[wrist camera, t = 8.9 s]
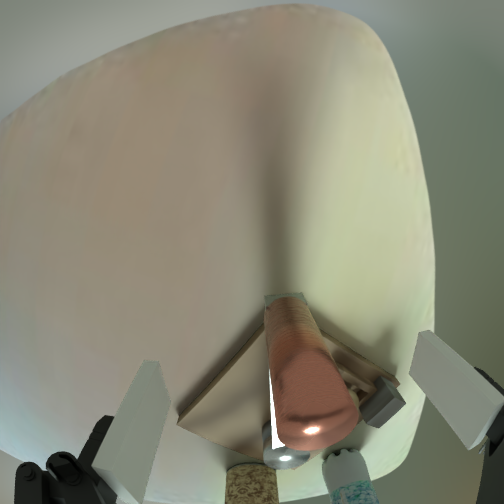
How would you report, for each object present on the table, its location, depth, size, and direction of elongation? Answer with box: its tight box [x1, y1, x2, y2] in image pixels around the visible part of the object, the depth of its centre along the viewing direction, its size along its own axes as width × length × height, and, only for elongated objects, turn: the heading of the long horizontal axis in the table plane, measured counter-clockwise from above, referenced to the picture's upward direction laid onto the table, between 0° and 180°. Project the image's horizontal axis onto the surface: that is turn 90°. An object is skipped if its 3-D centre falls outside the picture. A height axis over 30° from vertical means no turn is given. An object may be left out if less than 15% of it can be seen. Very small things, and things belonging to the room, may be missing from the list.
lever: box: [263, 293, 359, 469], centre depth 16 cm, size 21×5×12 cm, turn 4°
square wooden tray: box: [177, 323, 406, 470], centre depth 25 cm, size 18×19×6 cm
